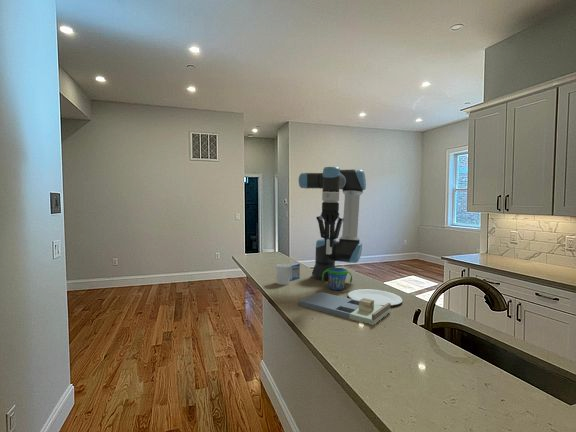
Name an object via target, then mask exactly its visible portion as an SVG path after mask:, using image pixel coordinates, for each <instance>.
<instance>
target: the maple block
mask: <svg viewBox="0 0 576 432" xmlns="http://www.w3.org/2000/svg"><path fill="white" fill-rule="evenodd" d="M359 310H360V311H364V312H368V313H370V312H371V311H373V310H374V300H371V299H366V298H363V299H361V300H359Z"/></svg>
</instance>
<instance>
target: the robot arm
mask: <svg viewBox="0 0 576 432" xmlns="http://www.w3.org/2000/svg"><path fill="white" fill-rule="evenodd" d="M366 179H367V178H366V174H365V172H364V170H362V169H340V167H339V166H325V167H324V168H323V171H322V172H301V173H300V174H299V176H298V186H299V187H300V189H307V190H308V189H320V190H321V189H322V191H321V192H322V195H321V196H322V197H321V201H322V202H321V213H320V215H318V216H316V221H317V223H318V228H319V234H320V239H318V240H316V243H315V256H314V257H315V259H314V260H315V261H314V266H313V269H312V271H311V277H312V278H313V279H315V280H320V281H322V274H323V272H324V271H325V270H327V269H328V268H336V262H343V263H349V264H351V263H352V264H356V263H358V262H359V261H360V259H361V256H362V253H363V252H362V250H363V244H362V243H361V241H360V238H359V237H358V230H359V229H358V228H359V212H360V199H361V198H360V197H361V195H362V194H363V193H364V191H365V190H366V188H367V183H366V181H367V180H366ZM340 190H342V191H341V192H342V194H343V195H344V203H343V215H342V216H340V212H339V210H340V203H339V201H340ZM336 221H337V222H336ZM341 227H342V234H341V236H339V235H340V232H341ZM337 239H339V241H337ZM323 281H329V280H328V272H325V273H324V278H323Z"/></svg>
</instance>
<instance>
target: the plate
mask: <svg viewBox="0 0 576 432" xmlns="http://www.w3.org/2000/svg"><path fill="white" fill-rule="evenodd" d="M347 296H348V298H349V299H354V300H358V301H359V300H361V299H363V298H366V299H371V300H374V304H376V305H380V306H384V305H386V304H387V303H391V307H393V306H398V305H400V304H402V303H403V298H402V297H401V296H399V295H398V294H395V293H393V292H389V291H385V290H380V289H374V288H373V289H372V288H371V289H370V288H369V289H367V288H366V289H365V288H363V289H362V288H361V289H355V290H351V291H350V292H348V293H347Z"/></svg>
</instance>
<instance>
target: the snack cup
mask: <svg viewBox="0 0 576 432" xmlns="http://www.w3.org/2000/svg"><path fill="white" fill-rule="evenodd" d="M325 272H328V280H327V281H328V288H329V289H330V290H332V291H333V290H334V291H342V290H344V289H345V285H346V284H345V283H346V279H347V276H348V274H349V275H350V280H349V283H350V284H352V282H353V275H352V273H351V272H350V271H349V270H348V269H346V268H342V267H335V268H328V269H327V270H325V271H324V272H323V274H322V280H321V281H322V282H323V283H324V281H325V280H323V278H324V273H325Z"/></svg>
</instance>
